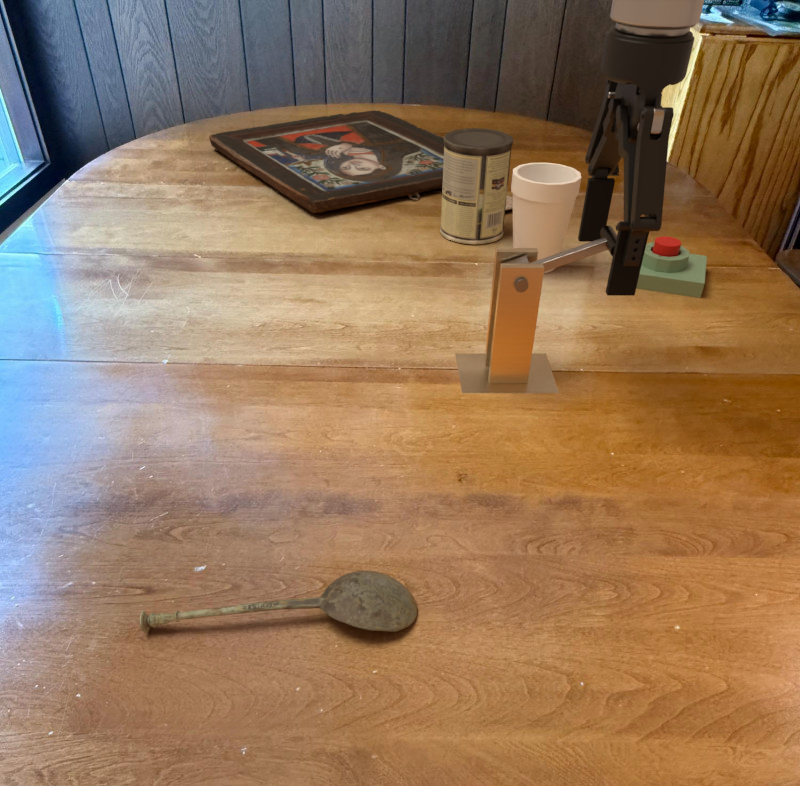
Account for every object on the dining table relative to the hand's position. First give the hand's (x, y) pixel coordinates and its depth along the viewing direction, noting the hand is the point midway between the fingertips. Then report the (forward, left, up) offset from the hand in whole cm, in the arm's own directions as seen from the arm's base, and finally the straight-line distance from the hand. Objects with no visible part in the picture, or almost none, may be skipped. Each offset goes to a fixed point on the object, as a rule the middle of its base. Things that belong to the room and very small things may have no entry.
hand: (604, 265), depth 81 cm
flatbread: (+22, -53, -14) cm, 59 cm away
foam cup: (+11, -31, -14) cm, 36 cm away
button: (-7, -33, -10) cm, 35 cm away
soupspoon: (+17, +45, -14) cm, 50 cm away
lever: (+4, +1, 0) cm, 4 cm away
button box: (-7, -33, -14) cm, 36 cm away
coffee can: (+23, -40, -14) cm, 48 cm away
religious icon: (+53, -65, -14) cm, 85 cm away
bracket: (+8, +3, -14) cm, 17 cm away
